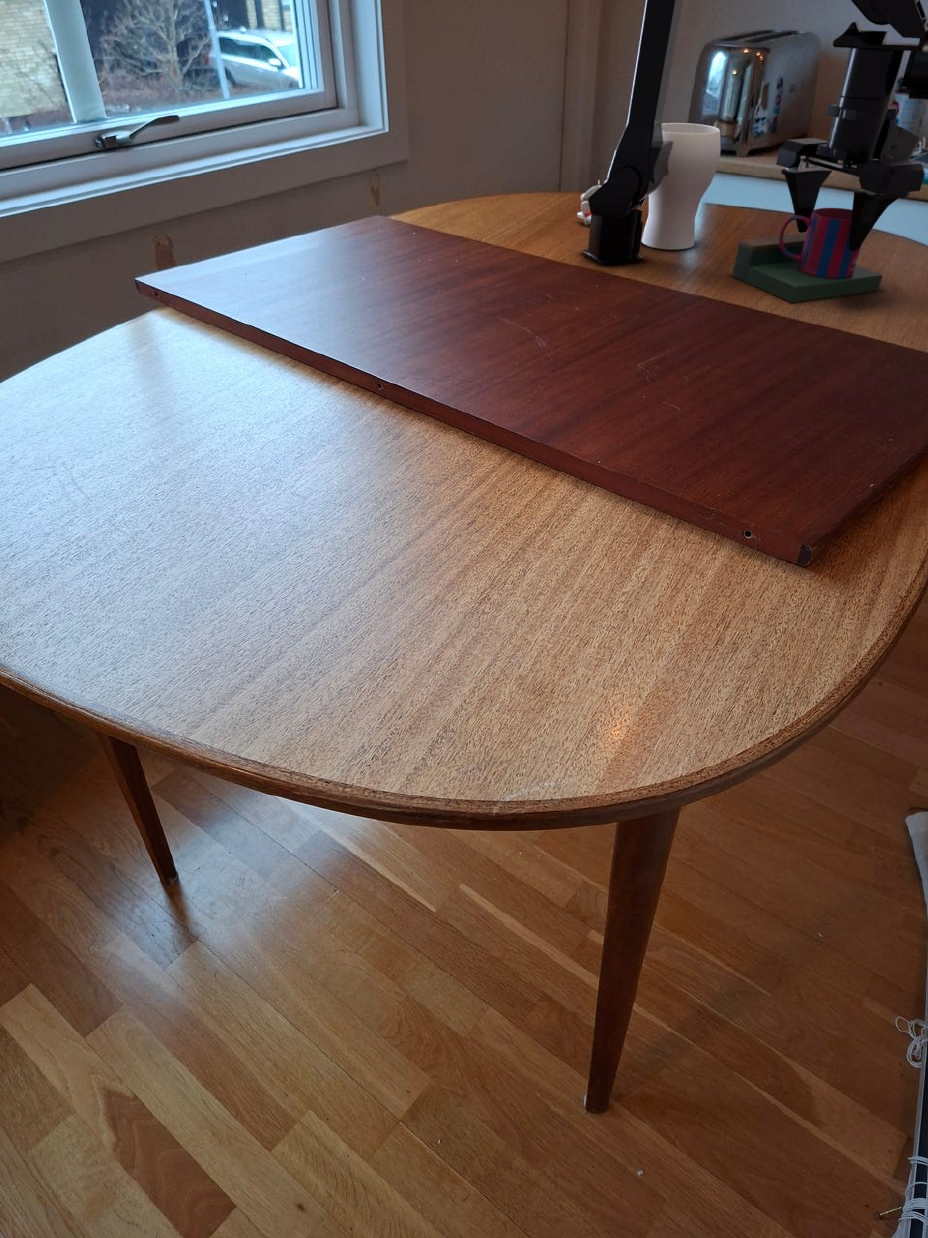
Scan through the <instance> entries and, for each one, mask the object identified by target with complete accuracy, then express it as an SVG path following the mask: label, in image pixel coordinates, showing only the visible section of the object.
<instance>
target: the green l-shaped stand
mask: <svg viewBox="0 0 928 1238" xmlns="http://www.w3.org/2000/svg"><path fill="white" fill-rule="evenodd" d="M806 235H807V232H804V233H796V234H785V235H783V244H784V246H785V248H786V249H787V250H788V251H789V252H790V253H792V254H795V255H801V254H802V251H803V247H804V243H805V239H806ZM735 256H736V257H735V261H734V266H733V269H732V270H733V271H732V277H734V278H736V279H738V280H740V281H743V282H745V283H747V284H749V285H752V286H754V287H756V288H758V289H760V290H762V291H764V292H767V293H769V294H771V295H773V296H776V297H778V298H780V299H782V300H784V301H786V302H789V303H790V304H795V303H801V302H808V301H815V300H822V299H828V298H829V299H830V298H835V297H843V296H850V295H855V294H856V295H858V294H864V293H865V294H866V293H871V292H877V291H879V289H880V285H881V283H882V279H883V274H882V273H878V272H876V271H874V270H871V269H868V268H866V267H862V266H860V265H857V264H856V266H855V269H854V273H853V275H851V276H849V277H846V278H823V277H817V276H812V275H809V274H806V273H804V272H802V271H801V270H800V269H799V264H800V262H799V261H796V260H794V259H791V258H790V257H788V256H786V255H785V254H784V253H783V251H782V250H781V248H780V246H779V235H778V236H777V235H776V236H769V237H760V238H751V239H742V240H739V241H738V246H737V251H736V255H735Z"/></svg>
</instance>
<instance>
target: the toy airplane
mask: <svg viewBox="0 0 928 1238" xmlns="http://www.w3.org/2000/svg"><path fill="white" fill-rule="evenodd" d="M605 182H607V179H606V180H604V182H603V184H604V183H605ZM600 183H601V182H600V180H598V183H597V185H593V186H592V187H591V188H589V189H588V190H586V192H584V193H582V194H581V195H580V201H582V202H581V204H580V209H581V211H579V212H577V213H576V215H577V218H578V219H581V220H583V221H584V224H585V225H586V226H590V223H591V212H590V208H589V203H588V198H589V197H590V196H591V195H592V194H593V193H594V192H596V191H597V190H598V189H599V188H600V187H601V186H602V185H600Z"/></svg>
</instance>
